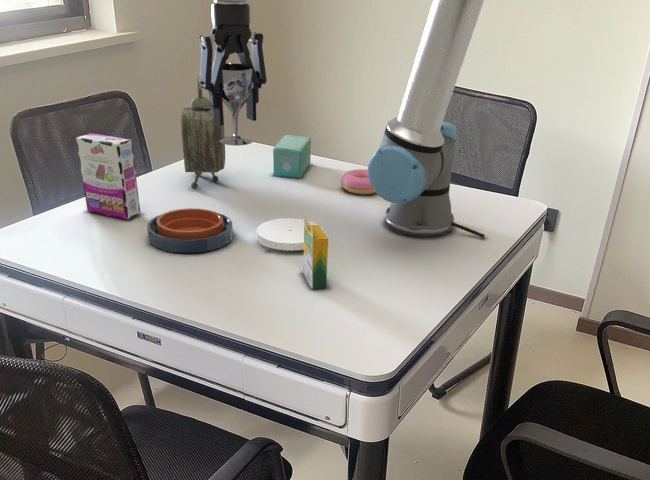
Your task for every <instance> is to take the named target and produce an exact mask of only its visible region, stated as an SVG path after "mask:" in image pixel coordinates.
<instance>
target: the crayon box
mask: <svg viewBox="0 0 650 480" xmlns="http://www.w3.org/2000/svg"><path fill="white" fill-rule="evenodd" d="M303 220H304V250H303V257H302V258H303V259H302V262H303V264H302V274H303V275H304V277H305V279H306V281H307V284H308V285H309V286H310V289H311V290H319V289H326V288H327V281H328V280H327V277H328V258H329V257H328V254H329V238H328V237H327V235H326V233H325V232H323V231H324V230H323V231H322V229H321V228H320V226H321V225H320V226H319V224H318V225H310V223H309V222H308V221H309V220H308V218H307V217H306V216H303ZM307 224H308V225H307Z"/></svg>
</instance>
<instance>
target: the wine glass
mask: <svg viewBox="0 0 650 480" xmlns="http://www.w3.org/2000/svg"><path fill="white" fill-rule="evenodd" d="M253 67H254V66H253ZM253 67H252V69H249V70H243V67H242V64H241V63H230V62H229V63H227V62H226V64H225V68H224V70H221V69H220V73H221V83H220V87H219V90H218V91H219V92H222V100H223V104H225V105H226V107H227V108H228V110H229V111H230V113H231V116H232V123H233V124H232V125H233V135H231V136H225V138H222V139H220V142H221V143H223V144H225V146H247V145H251V144H252V143H253V142H254V140H253V139H252V138H250V137H246V136H241V135H239V131H238V126H239V125H238V122H239V114H240V111H241V109H242V108H243V106H244V105H246V101H247V100H248V98H249V97H250V94H251V90H252V83H253Z"/></svg>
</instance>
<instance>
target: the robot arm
mask: <svg viewBox="0 0 650 480" xmlns="http://www.w3.org/2000/svg"><path fill="white" fill-rule="evenodd" d="M249 1H250V0H213V2H212V3H211V4H210V8H211V9H210V10H211V22H212V26H213V27H212V31H211V33H210V34H207V35H203V34H200V35H199V37H198V40H199V44H200V48H201V49H200V50H201V51H200V65H199V66H200V67H199V76H200V84H199V85H200V87H201V88H202V90H203V89H204V90H205V91H208V100H209V102H210V107H211V108H213V114H214V123H216V124H218V125H220V126H221V125H224V126H225V119H224V120H223V115H224V102H223V100H222V92H219V91H218V90H219V87H220V83H221V73H220V69H221V70H224V68H225V64H227V62H228V61H227V60H228V59H229V58H230V55H233V54H236V55H237V57H238V59H239V61H240V64H242V67H243V70H249V69H252V67H253V83H252V90H251V94H250V97H249V98H248V100H247V101H246V102H245V108H246V109H245V110H246V112H245V113H246V119H247V120H250V121H253V122H256V121H257V104H259V100H260V98H259V97H260V95H259V94H260V93H259V90H260V89H261V88H262V86H263V85H265V84H267V82H268V80H267V73H266V65H265V58H264V51H263V43H264V34H263V33H261V32H257V31H252V30H251V27H250V24H251V6H250V5H249V3H248V2H249ZM484 1H485V0H431V3H430V6H429V10H428V13H427V17H426V20H425V23H424V27H423V29H422V34H421V37H420V40H419V43H418V46H417V49H416V53H415V57H414V60H413V64H412V67H411V69H410V73H409V77H408V80H407V83H406V87H405V89H404V93H403V96H402V100H401V103H400V107H399V110H398V113H397V116H396V117H394V118H392V119H390V120H388V121H387V123H386V125H385V129H384V132H383V136H382V139H381V143H380V145H379V146H380V147H378V148H377V149H376V150H375V151H374V152H373V153H372V155H371V157H370V158H369V161H368V163H367V170H368V178H369V182H370V184H371V185H372V187H373V189H374V191H375V192H376V193H375V194H377V195H378V196H379V197H380V198H381V199H383V200H384V201H386V202H389V203H390V206H389V207H388V208H386V210H385V226H386V227H387V228H388V229H390V230H391V231H393V232H396V233H397V234H401V235H404V236H409V237H414V238H436V237H441V236H445V235H448V234H450V233H451V232H452V231H453V229H454V227H455V228H457V229H460V230H463V231H465V232H468V233H470V234H473V235H475V236H477V237H479V238H485V234H484V233H482V232H479V231H476V230H474V229H472V228H470V227H467V226H464V225H461V224H459V223H456V222H455V218H454V213H452V205H451V198H450V189H451V188H450V187H451V178H452V171H453V163H454V154H455V146H456V142H457V128H456V126H455V124H453V123H452V122H449V121H444V119H445V117H446V114H447V110H448V106H449V105H450V102H451V99H452V96H453V94H454V90H455V87H456V85H457V81H458V79H459V75H460V73H461V69H462V67H463V65H464V60H465V59H466V55H467V52H468V49H469V46H470V43H471V41H472V36H473V34H474V31H475V28H476V26H477V22H478V20H479V16H480V14H481V10H482V8H483V5H484ZM249 41H250V50H251V53H250V50H249V46H248V43H249ZM214 43H215V44H214ZM214 45H216V47H215V52H214V50H213V49H214V48H213V47H214ZM214 55H215V56H214ZM213 56H214V60H213Z"/></svg>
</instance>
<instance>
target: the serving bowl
mask: <svg viewBox="0 0 650 480" xmlns="http://www.w3.org/2000/svg"><path fill="white" fill-rule="evenodd" d="M217 213H218V214H220V215H221V216H222V218H223V225H224V232H223V233H220V234H218V235H215V236H211V237H207V238H201V239H173V238H168V237H164V236H161V235H158V234H157V226H156V220H157V218H158V217H159V216H160V215H162V214H163V213H161V214H159V215H156V216H154V217H153V218H151V219H150V220H149V221H148V222H147V225H146V229H147V230H146V231H147V238H148V241H149V243H150V244H151V245H153V246H154V247H155V248H158V249H161V250H164V251H167V252H173V253H182V254H194V253H195V254H196V253H203V252H208V251H213V250H216V249H217V250H218V249H219V248H222V247H225V246H226V245H227V244H229V243H231V241H232V240H233V238H234V230H233V228H234V227H233V221H232V220H231V218H230V217H229V216H226V215H225V214H222V213H219V212H217Z"/></svg>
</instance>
